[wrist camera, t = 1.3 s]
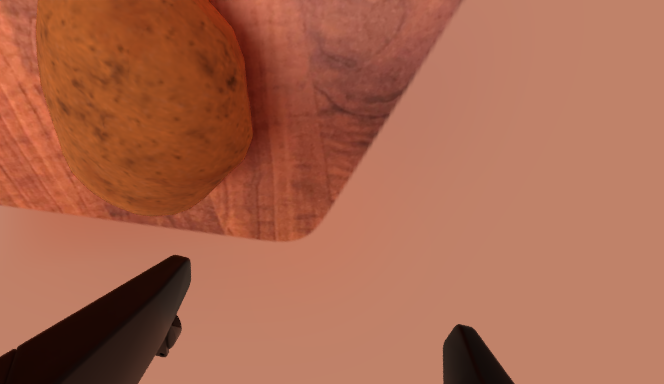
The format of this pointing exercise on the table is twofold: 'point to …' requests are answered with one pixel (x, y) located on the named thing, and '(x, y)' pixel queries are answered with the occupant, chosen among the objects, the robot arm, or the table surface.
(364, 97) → the table surface
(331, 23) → the table surface
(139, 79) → the potato
